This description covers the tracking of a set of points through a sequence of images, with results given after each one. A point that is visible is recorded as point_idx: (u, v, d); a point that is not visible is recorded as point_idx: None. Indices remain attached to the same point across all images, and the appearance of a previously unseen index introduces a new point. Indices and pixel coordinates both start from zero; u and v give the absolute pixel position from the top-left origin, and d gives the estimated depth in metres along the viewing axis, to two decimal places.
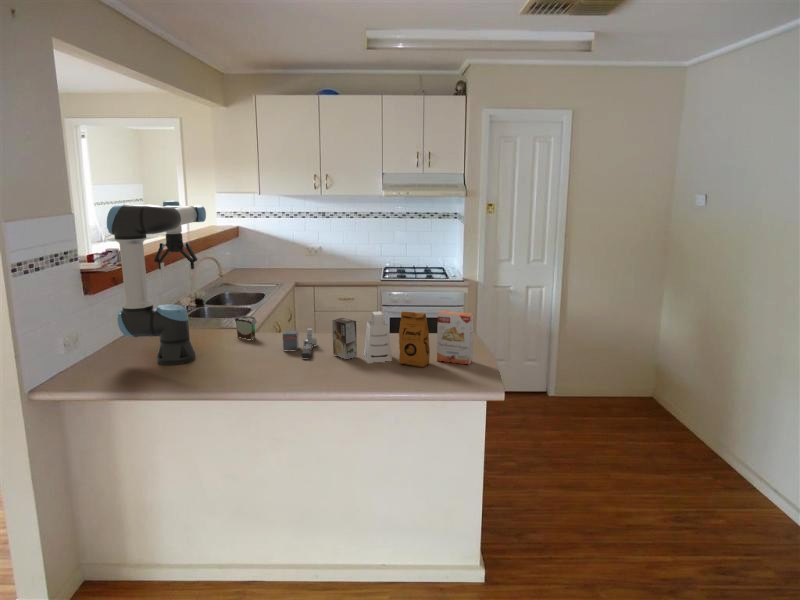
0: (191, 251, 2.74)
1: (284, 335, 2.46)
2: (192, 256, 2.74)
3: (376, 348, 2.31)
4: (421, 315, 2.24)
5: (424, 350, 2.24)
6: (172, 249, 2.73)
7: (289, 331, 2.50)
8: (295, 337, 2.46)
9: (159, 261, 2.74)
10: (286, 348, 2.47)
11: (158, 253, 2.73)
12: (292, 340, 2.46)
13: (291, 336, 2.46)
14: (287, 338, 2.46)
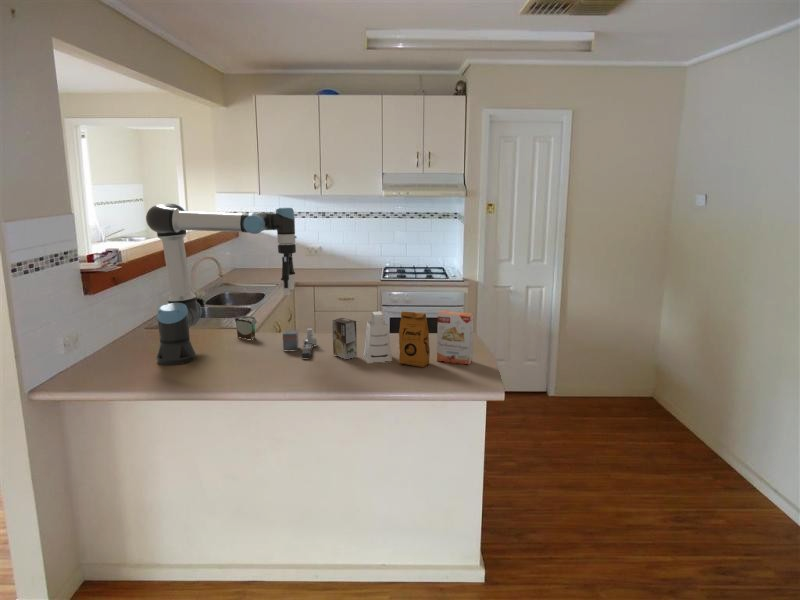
0: (283, 267, 2.34)
1: (284, 335, 2.46)
2: None
3: (376, 348, 2.31)
4: (421, 315, 2.24)
5: (424, 350, 2.24)
6: None
7: (289, 331, 2.50)
8: (295, 337, 2.46)
9: None
10: (286, 348, 2.47)
11: None
12: (292, 340, 2.46)
13: (291, 336, 2.46)
14: (287, 338, 2.46)
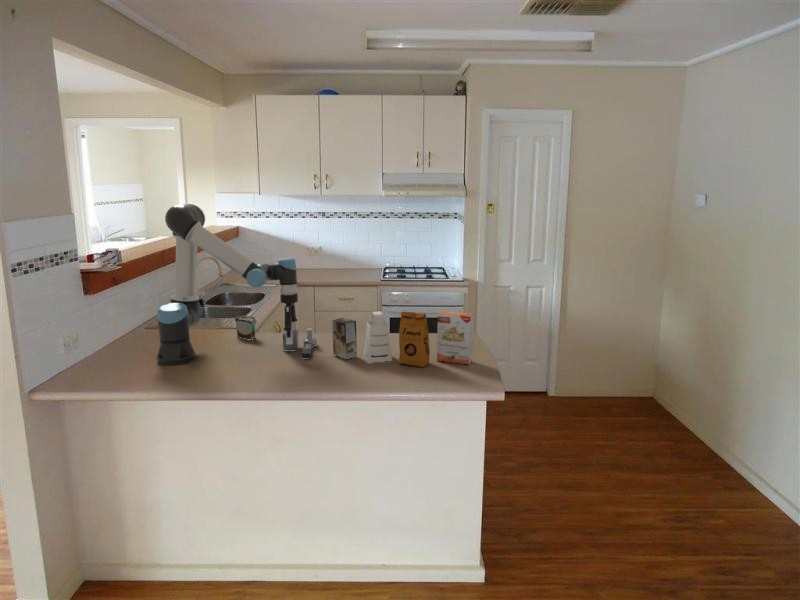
0: (285, 317, 2.39)
1: (284, 335, 2.46)
2: (285, 323, 2.39)
3: (376, 348, 2.31)
4: (421, 315, 2.24)
5: (424, 350, 2.24)
6: None
7: None
8: (295, 337, 2.46)
9: None
10: (286, 348, 2.47)
11: None
12: None
13: None
14: None
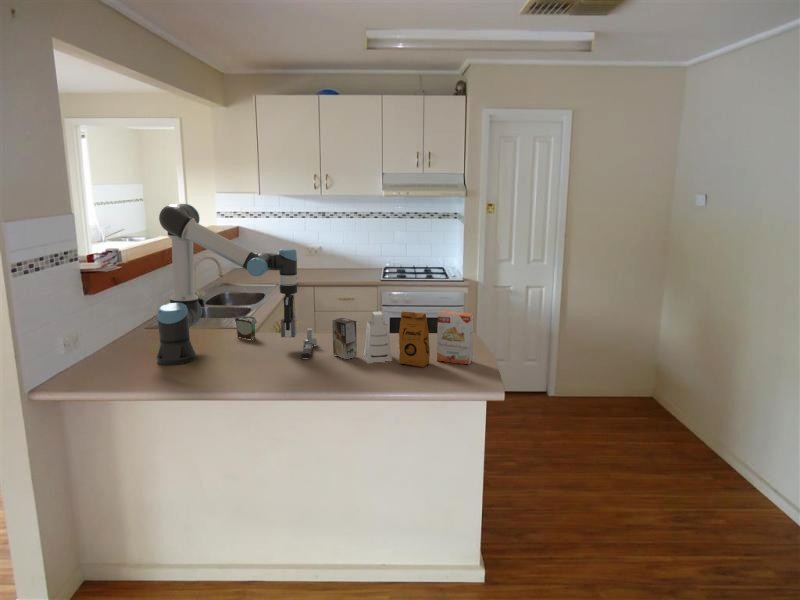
0: (285, 311, 2.40)
1: (282, 321, 2.44)
2: (284, 316, 2.41)
3: (376, 348, 2.31)
4: (421, 315, 2.24)
5: (424, 350, 2.24)
6: None
7: None
8: (293, 323, 2.45)
9: None
10: (284, 334, 2.46)
11: None
12: None
13: None
14: None
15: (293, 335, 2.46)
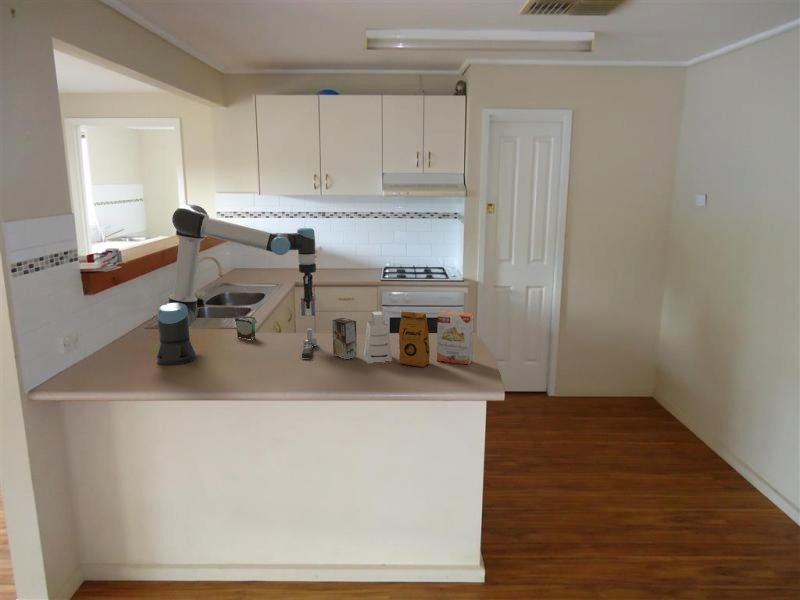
0: (305, 289, 2.44)
1: (302, 299, 2.48)
2: (304, 294, 2.45)
3: (376, 348, 2.31)
4: (421, 315, 2.24)
5: (424, 350, 2.24)
6: None
7: None
8: (313, 301, 2.48)
9: None
10: (304, 312, 2.49)
11: None
12: None
13: None
14: None
15: (313, 313, 2.50)
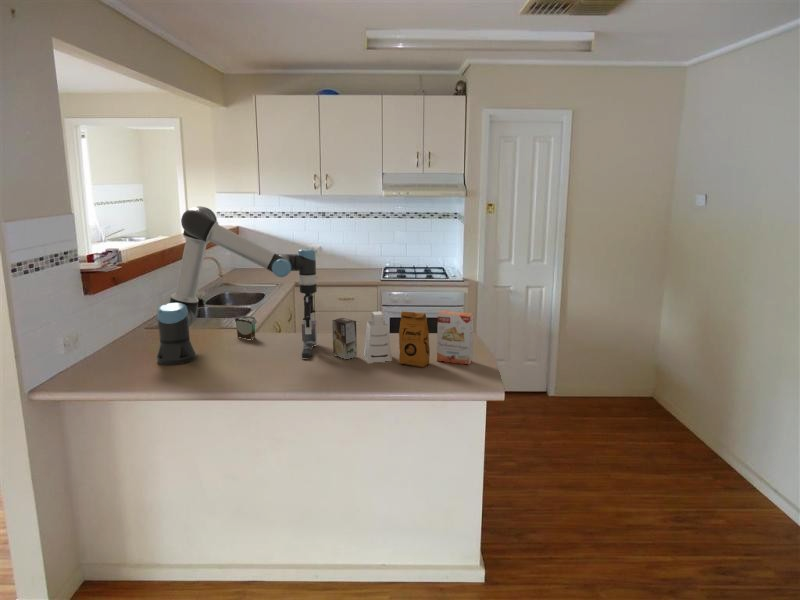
0: (305, 308, 2.44)
1: (303, 325, 2.51)
2: None
3: (376, 348, 2.31)
4: (421, 315, 2.24)
5: (424, 350, 2.24)
6: None
7: None
8: (314, 327, 2.51)
9: None
10: (305, 338, 2.52)
11: None
12: (311, 330, 2.52)
13: None
14: None
15: (314, 339, 2.52)
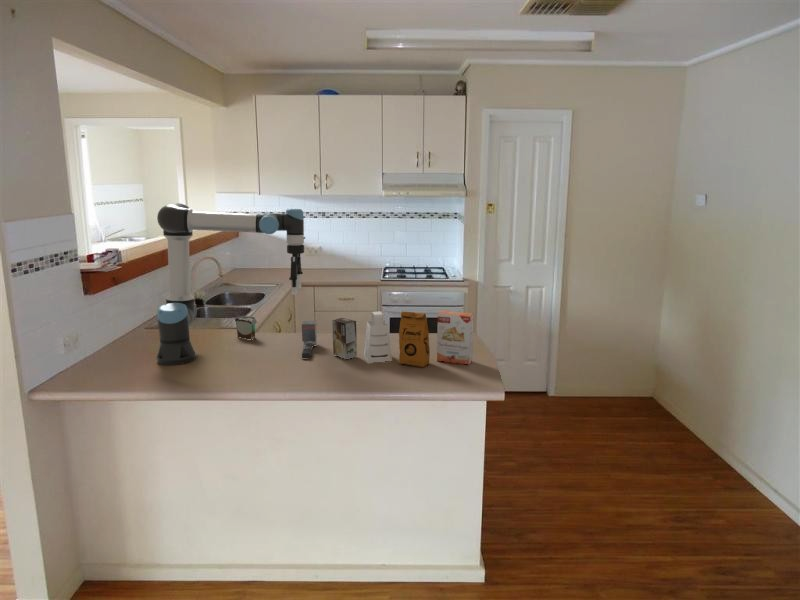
0: (291, 267, 2.40)
1: (303, 325, 2.51)
2: None
3: (376, 348, 2.31)
4: (421, 315, 2.24)
5: (424, 350, 2.24)
6: None
7: (307, 321, 2.55)
8: (314, 327, 2.51)
9: None
10: (305, 338, 2.52)
11: None
12: (311, 330, 2.52)
13: (310, 326, 2.51)
14: (306, 328, 2.51)
15: (314, 339, 2.52)
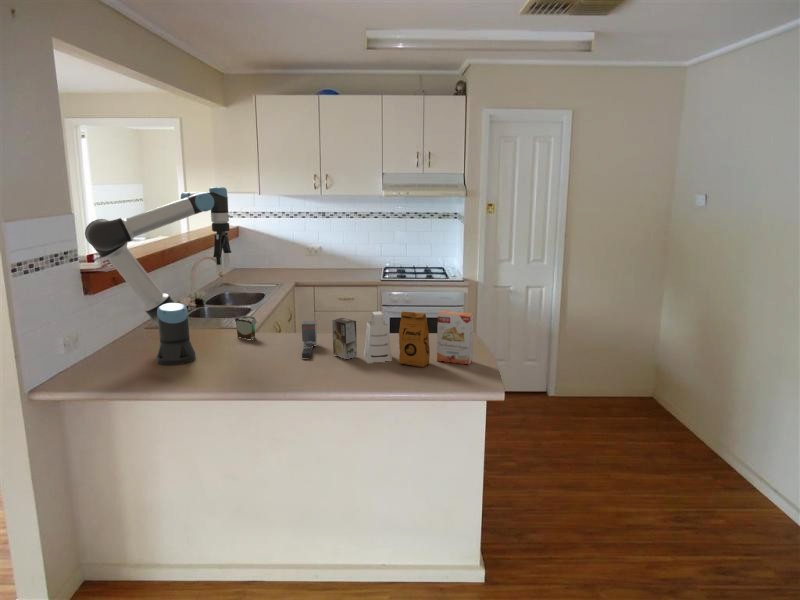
0: (215, 244, 2.42)
1: (303, 325, 2.51)
2: None
3: (376, 348, 2.31)
4: (421, 315, 2.24)
5: (424, 350, 2.24)
6: None
7: (308, 321, 2.55)
8: (314, 327, 2.51)
9: None
10: (305, 338, 2.52)
11: None
12: (311, 330, 2.52)
13: (310, 326, 2.51)
14: (306, 328, 2.51)
15: (314, 339, 2.52)
